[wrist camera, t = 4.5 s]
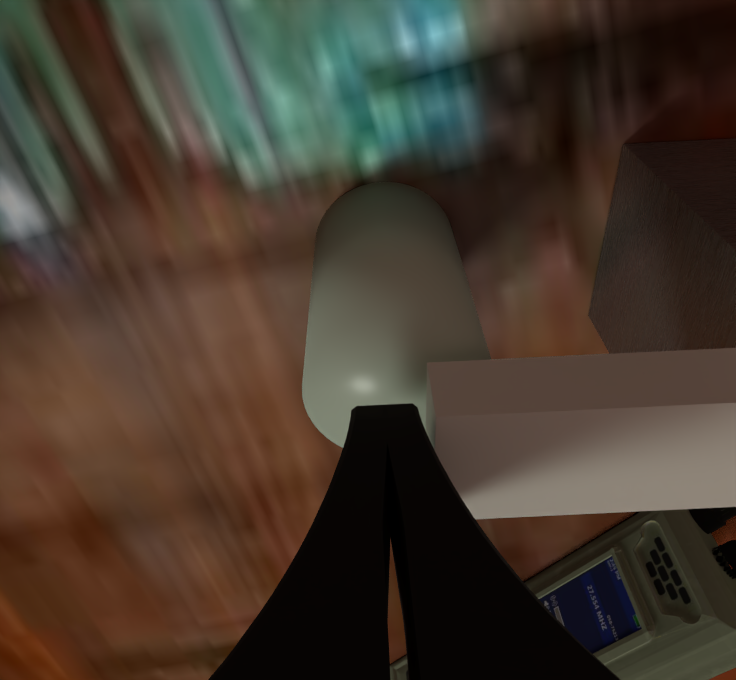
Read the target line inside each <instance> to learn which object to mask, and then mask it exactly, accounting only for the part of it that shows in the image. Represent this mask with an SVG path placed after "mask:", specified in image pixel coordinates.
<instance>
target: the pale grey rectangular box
mask: <svg viewBox="0 0 736 680" xmlns="http://www.w3.org/2000/svg"><path fill="white" fill-rule="evenodd" d="M426 433H427V435H428V437H429V440H430V442H431V444H432V446H433V448H434V450H435V452H436V454H437V456H438V458H439V460H440V462H441V464H442V466H443V467H444V469H445V471H446V473H447V475H448V476H449V478H450V480H451V482H452V483H453V485H454V487H455V489H456V490H457V492H458V494H459V495H460V497H461V498H462V500H463V502H464V503H465V505H466V506H467V508H468V509H469V511H470V512H471V514H472V515H473V517H474V518H475V519H489V518H510V517H531V516H552V515H573V514H594V513H615V512H636V511H657V510H679V509H700V508H721V507H736V348H719V349H698V350H677V351H657V352H636V353H615V354H595V355H574V356H553V357H533V358H512V359H491V360H471V361H450V362H429V363H427V387H426Z"/></svg>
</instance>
